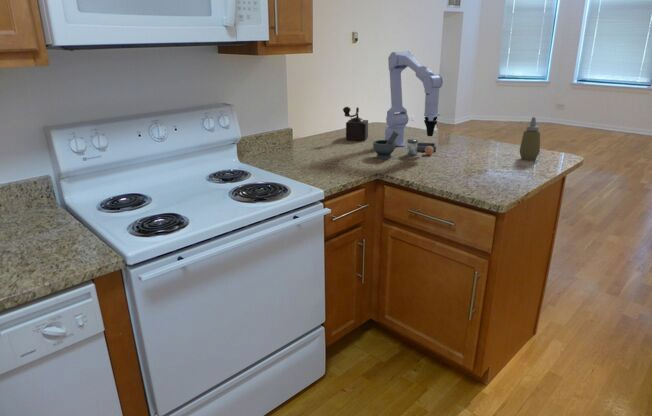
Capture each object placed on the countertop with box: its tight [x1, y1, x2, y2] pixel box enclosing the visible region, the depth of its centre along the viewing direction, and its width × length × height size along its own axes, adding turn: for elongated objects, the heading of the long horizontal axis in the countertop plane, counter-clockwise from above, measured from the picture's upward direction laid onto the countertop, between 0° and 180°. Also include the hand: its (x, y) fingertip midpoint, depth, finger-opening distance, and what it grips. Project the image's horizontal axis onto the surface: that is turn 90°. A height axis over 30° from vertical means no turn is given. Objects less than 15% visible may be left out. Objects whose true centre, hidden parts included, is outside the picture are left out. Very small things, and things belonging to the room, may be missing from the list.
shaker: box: [406, 138, 419, 157], centre depth 212 cm, size 5×5×7 cm
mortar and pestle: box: [372, 131, 399, 160], centre depth 208 cm, size 11×9×12 cm
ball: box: [424, 146, 434, 156], centre depth 212 cm, size 4×4×4 cm
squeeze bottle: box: [519, 116, 541, 162], centre depth 198 cm, size 8×8×18 cm
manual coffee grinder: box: [342, 106, 369, 142], centre depth 243 cm, size 16×11×18 cm
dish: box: [417, 142, 437, 153], centre depth 222 cm, size 11×8×2 cm
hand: (430, 134), depth 209 cm, fingers open, 7 cm apart
